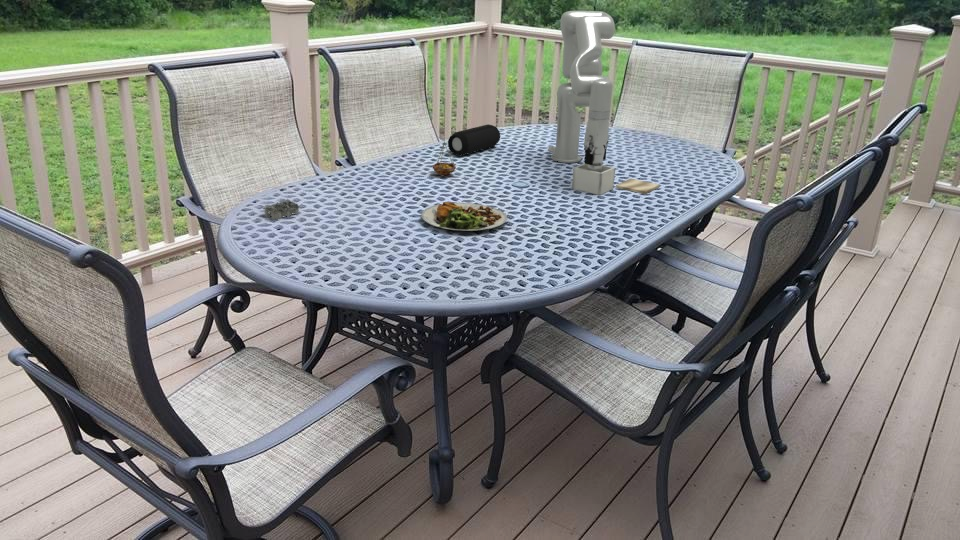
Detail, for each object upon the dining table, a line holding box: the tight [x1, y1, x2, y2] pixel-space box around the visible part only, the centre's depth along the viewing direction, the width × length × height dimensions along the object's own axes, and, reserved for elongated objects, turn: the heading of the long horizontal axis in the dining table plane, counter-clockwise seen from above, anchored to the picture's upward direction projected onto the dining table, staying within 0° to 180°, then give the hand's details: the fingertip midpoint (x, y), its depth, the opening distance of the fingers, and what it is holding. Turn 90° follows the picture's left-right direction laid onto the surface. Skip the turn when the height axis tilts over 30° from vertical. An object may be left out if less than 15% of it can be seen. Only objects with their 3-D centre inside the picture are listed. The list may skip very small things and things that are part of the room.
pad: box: [615, 178, 660, 195], centre depth 298 cm, size 12×12×1 cm
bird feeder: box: [432, 99, 457, 176], centre depth 299 cm, size 9×9×30 cm
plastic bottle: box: [587, 145, 605, 173], centre depth 291 cm, size 6×7×20 cm
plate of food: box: [420, 201, 508, 231], centre depth 256 cm, size 28×28×6 cm
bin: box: [571, 162, 616, 196], centre depth 293 cm, size 12×11×8 cm
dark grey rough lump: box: [262, 198, 301, 220], centre depth 256 cm, size 11×8×4 cm
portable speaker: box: [447, 123, 501, 156], centre depth 339 cm, size 26×10×10 cm, turn 141°
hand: (595, 161), depth 290 cm, fingers open, 9 cm apart
